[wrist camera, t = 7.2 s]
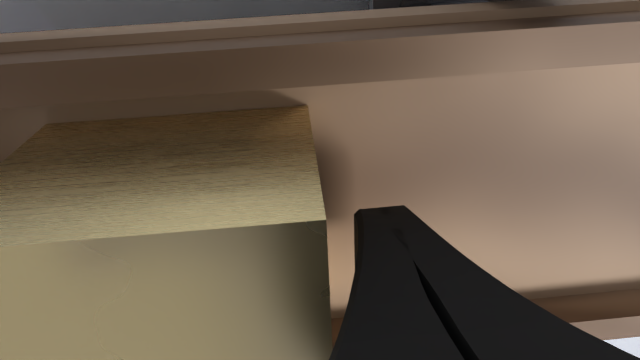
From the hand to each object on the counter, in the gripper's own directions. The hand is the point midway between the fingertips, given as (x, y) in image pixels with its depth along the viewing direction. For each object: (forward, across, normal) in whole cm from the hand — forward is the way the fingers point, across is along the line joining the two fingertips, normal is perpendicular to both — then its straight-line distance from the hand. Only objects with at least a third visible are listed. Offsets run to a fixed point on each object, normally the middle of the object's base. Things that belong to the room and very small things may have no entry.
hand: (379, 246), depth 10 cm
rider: (+2, +4, 0) cm, 4 cm away
